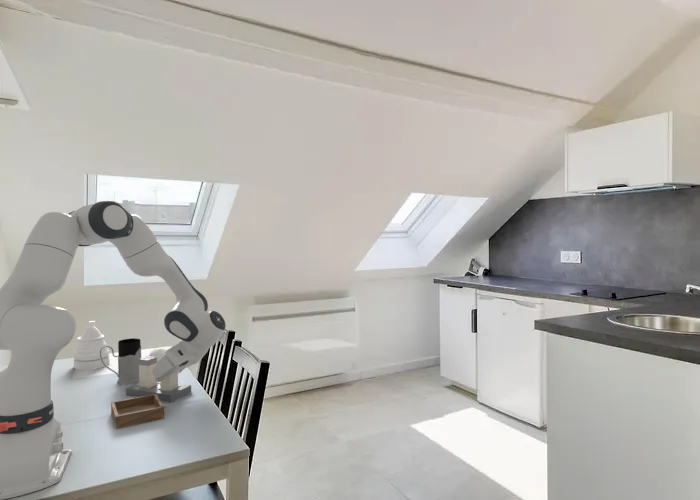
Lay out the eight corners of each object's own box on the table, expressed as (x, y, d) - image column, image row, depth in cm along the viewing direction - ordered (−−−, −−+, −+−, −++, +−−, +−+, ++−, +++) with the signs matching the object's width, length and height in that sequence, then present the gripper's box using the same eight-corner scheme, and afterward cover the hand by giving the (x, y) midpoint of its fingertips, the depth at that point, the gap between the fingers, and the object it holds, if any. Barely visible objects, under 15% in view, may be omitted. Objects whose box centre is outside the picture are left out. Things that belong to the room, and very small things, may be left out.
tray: (164, 418, 135) (164, 406, 135) (116, 428, 128) (115, 416, 128) (156, 404, 146) (156, 393, 146) (111, 413, 139) (110, 402, 139)
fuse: (157, 390, 158) (156, 357, 158) (148, 394, 154) (148, 360, 154) (148, 389, 159) (147, 356, 159) (139, 393, 156) (138, 359, 155)
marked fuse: (178, 394, 155) (177, 359, 154) (170, 398, 151) (169, 363, 151) (168, 392, 156) (168, 358, 156) (160, 396, 153) (159, 361, 152)
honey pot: (78, 362, 192) (77, 320, 191) (112, 359, 196) (111, 318, 195) (70, 371, 180) (68, 326, 179) (106, 368, 184) (104, 324, 183)
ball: (154, 372, 187) (146, 355, 189) (173, 363, 190) (165, 346, 192) (151, 368, 180) (143, 351, 182) (171, 359, 183) (163, 341, 186)
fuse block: (191, 392, 157) (191, 385, 157) (170, 402, 147) (170, 395, 147) (148, 385, 163) (148, 378, 163) (125, 395, 154) (125, 388, 154)
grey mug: (142, 382, 167) (141, 342, 166) (98, 387, 161) (97, 346, 161) (143, 375, 175) (142, 337, 174) (102, 379, 169) (101, 340, 169)
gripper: (205, 336, 160) (183, 360, 164) (163, 350, 141) (139, 378, 145) (215, 349, 159) (193, 373, 163) (175, 366, 140) (150, 393, 144)
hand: (167, 376), depth 154 cm, fingers open, 8 cm apart
